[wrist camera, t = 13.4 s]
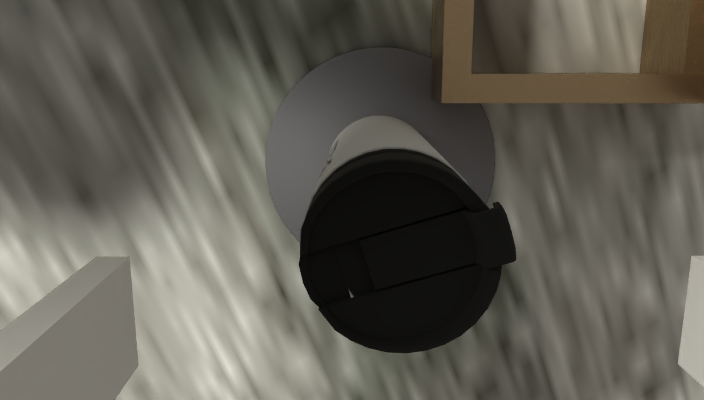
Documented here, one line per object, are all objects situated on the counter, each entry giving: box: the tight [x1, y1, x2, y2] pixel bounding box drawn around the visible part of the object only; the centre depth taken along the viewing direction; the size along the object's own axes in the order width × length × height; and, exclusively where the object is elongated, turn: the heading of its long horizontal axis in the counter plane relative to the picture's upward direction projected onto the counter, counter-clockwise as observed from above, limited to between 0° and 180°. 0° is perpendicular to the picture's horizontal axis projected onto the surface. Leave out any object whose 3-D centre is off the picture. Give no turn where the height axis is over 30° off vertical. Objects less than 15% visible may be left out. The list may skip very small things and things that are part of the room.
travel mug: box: [299, 115, 516, 353], centre depth 28 cm, size 6×7×20 cm
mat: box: [266, 47, 495, 242], centre depth 38 cm, size 14×14×1 cm
